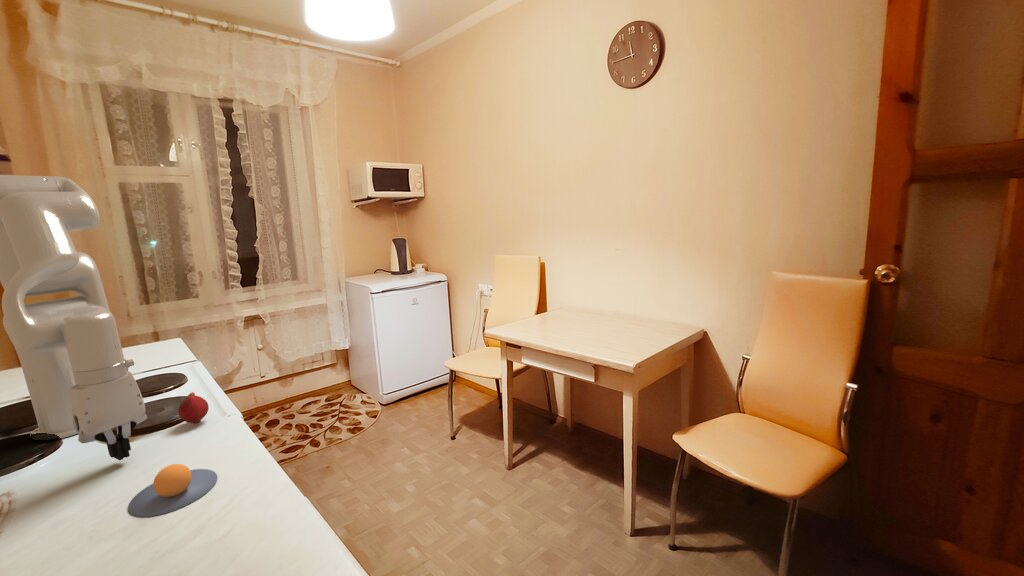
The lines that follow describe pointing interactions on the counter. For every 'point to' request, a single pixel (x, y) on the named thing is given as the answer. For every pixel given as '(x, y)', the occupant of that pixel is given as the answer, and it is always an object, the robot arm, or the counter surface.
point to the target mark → (155, 504)
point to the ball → (172, 480)
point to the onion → (193, 409)
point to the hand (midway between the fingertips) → (121, 456)
